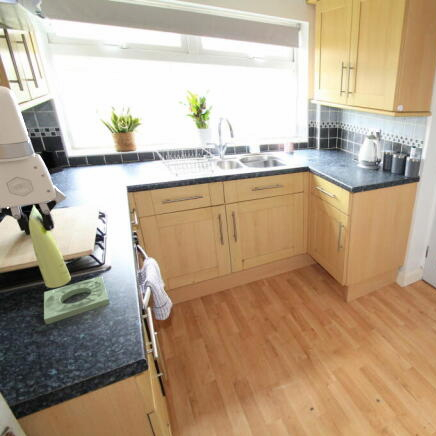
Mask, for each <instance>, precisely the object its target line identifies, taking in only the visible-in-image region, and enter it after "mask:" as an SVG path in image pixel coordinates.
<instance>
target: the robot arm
mask: <svg viewBox="0 0 436 436" xmlns="http://www.w3.org/2000/svg"><path fill="white" fill-rule="evenodd" d="M27 129H28V128H27V127H26V124H25V121H24V118H23V115H22V112H21V109H20V106H19V103H18V101H17V98H16V95H15V93H14V92H13V90H12V89H10V88H9V87H7V86H3V85H0V213H1V214H4V215H6V216H8V217H11V218H13V219H14V220H16V223H17V224H18V226H19V230H20V231H21V232H24V233H25V234H26V236H31V234H30V229H29V218H28V216H27V214H25V213H24V212H23V211H22V208H21V207H22V206H24V207H25V206H31V205H37V204H38V205H39V207H40V210H41V213H40V214H41V217H42V220H43V222H44V225H45V228H46V230H47V231H50V232H51V231H52V227H53V226H55V223H54V220H53V217H52V214H51V212H52V211H53V210H54V208H55V207H56V206H57V205H58V204H60V203H62V202H63V201H65V200H66V198H67V197H66V195H65V193H63V192H62V191H61V190H60V189H59V188H58V187H56V185H55V184H54V181H53V179H52V176H51V174H50V172H49V170H48V167H47V165H46V164H45V162H44V160H43V158H42V157H41V155H40V154H39V153H35V150H34V147H33V144H32V141H31V138H30V135H29V132H28V130H27Z"/></svg>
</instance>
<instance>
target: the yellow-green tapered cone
mask: <svg viewBox="0 0 436 436" xmlns="http://www.w3.org/2000/svg"><path fill="white" fill-rule="evenodd" d="M41 214H42V213H40V212H39V210H38V209H37V208H36V205H35V204H32V208H31V210H30V214H29V218H28V221H29V229H30V240H31V244H32V248H33V251H34V254H35V258H36V261H37V265H38V268H39V271H40V274H41V276H42V279H43V281H44V284H45V286H46V287H47V288H49V289H52V288H53V289H56V288H61V287H64V286H66V285H67V284H69V282H70V281H71V280H72V277H71V274H70V272H69V269H68V267H67V264H66V262H65V260H64V257H63V255H62V253H61V250H60V248H59V246H58V244H57V242H56V240H55V238H54V235H53V234H52V232H51V231H47V230H46V228H45V225H44V222H43V220H42V217H41Z"/></svg>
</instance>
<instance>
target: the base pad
mask: <svg viewBox="0 0 436 436" xmlns="http://www.w3.org/2000/svg"><path fill="white" fill-rule="evenodd" d="M83 293H88V294H89V293H90V294H89V295H88V296H87V297H85V298H84V299H81V300H79V301H77V302H73V303H72V302H71V303H64V302H65V301H66V300H67V299H69V298H71V297H72V296H74V295H78V294H83ZM110 303H111V302H110V299H109V296H108V291H107V287H106V283H105V281H104V277H103V275H100V276H96V277H93V278H89V279H86V280H82V281H79V282H75V283H71V284H68V285H64V286H60V287H57V288H53V289H49V290H48V291H44V292H43V321H44V323H45V325H50V324H53V323H56V322H59V321H62V320H65V319H68V318H71V317H74V316H78V315H80V314H83V313H86V312H88V311H92V310H95V309H98V308H100V307H104V306H107V305H110Z"/></svg>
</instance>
